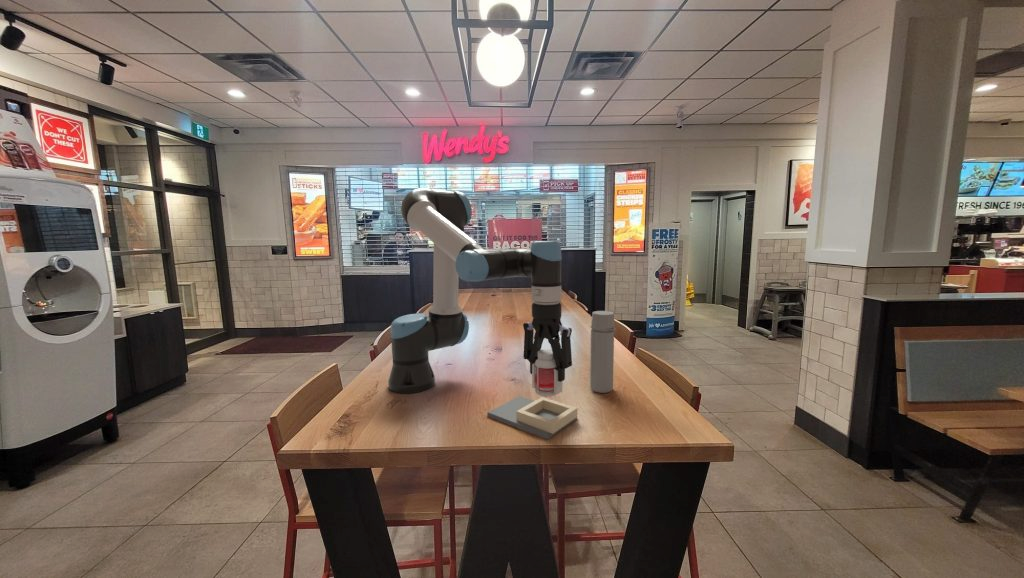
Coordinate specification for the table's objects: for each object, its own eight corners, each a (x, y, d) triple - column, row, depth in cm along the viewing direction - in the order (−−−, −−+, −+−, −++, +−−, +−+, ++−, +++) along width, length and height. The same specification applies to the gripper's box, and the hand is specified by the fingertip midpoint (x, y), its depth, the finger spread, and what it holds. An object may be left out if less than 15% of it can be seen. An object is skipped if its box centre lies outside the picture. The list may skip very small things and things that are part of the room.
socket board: (487, 416, 107) (487, 403, 106) (519, 399, 117) (519, 387, 117) (550, 440, 93) (550, 426, 93) (579, 419, 104) (579, 406, 103)
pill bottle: (563, 393, 100) (563, 352, 99) (545, 399, 97) (544, 356, 95) (548, 386, 105) (548, 346, 104) (530, 391, 102) (530, 350, 100)
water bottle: (604, 396, 118) (606, 316, 115) (584, 389, 124) (585, 312, 121) (621, 388, 124) (623, 312, 121) (601, 381, 130) (602, 308, 127)
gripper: (508, 300, 101) (509, 385, 104) (571, 308, 89) (571, 403, 92) (525, 297, 107) (526, 377, 110) (587, 303, 95) (586, 393, 98)
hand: (547, 389), depth 101 cm, fingers closed on pill bottle, 6 cm apart
